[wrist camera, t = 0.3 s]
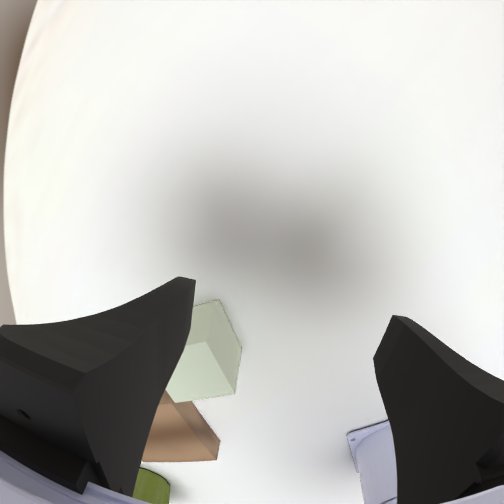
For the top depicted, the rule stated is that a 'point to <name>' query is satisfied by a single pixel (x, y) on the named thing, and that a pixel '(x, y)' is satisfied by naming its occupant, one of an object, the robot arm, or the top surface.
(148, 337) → the robot arm
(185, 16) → the top surface
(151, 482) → the plant pot
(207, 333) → the sage block
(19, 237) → the top surface
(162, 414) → the brown square block
